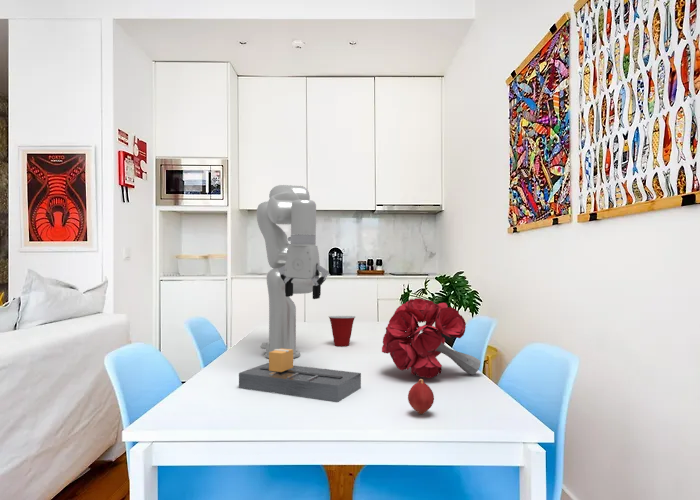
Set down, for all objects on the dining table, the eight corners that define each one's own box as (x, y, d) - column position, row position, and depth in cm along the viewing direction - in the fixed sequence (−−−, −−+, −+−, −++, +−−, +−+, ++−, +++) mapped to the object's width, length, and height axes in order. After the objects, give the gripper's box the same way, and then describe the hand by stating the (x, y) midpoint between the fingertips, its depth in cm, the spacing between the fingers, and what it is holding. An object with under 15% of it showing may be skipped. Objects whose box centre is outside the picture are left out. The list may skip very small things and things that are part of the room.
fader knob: (268, 370, 131) (268, 351, 131) (280, 365, 136) (280, 347, 136) (281, 372, 129) (281, 352, 129) (293, 367, 134) (293, 348, 134)
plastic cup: (355, 342, 198) (355, 313, 198) (355, 347, 187) (355, 317, 187) (329, 342, 198) (329, 313, 198) (327, 347, 187) (327, 316, 187)
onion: (405, 410, 111) (405, 375, 111) (430, 409, 112) (430, 375, 112) (411, 418, 105) (411, 382, 105) (436, 418, 106) (436, 381, 106)
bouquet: (449, 386, 156) (369, 341, 155) (486, 324, 155) (406, 278, 154) (464, 412, 135) (372, 360, 134) (508, 341, 133) (414, 287, 133)
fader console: (238, 387, 130) (238, 371, 130) (268, 376, 143) (268, 361, 143) (337, 402, 117) (337, 384, 117) (360, 387, 130) (360, 371, 130)
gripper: (272, 240, 145) (271, 296, 146) (321, 241, 137) (320, 301, 138) (286, 240, 152) (285, 294, 152) (334, 241, 144) (333, 298, 145)
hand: (302, 297), depth 145 cm, fingers open, 9 cm apart
